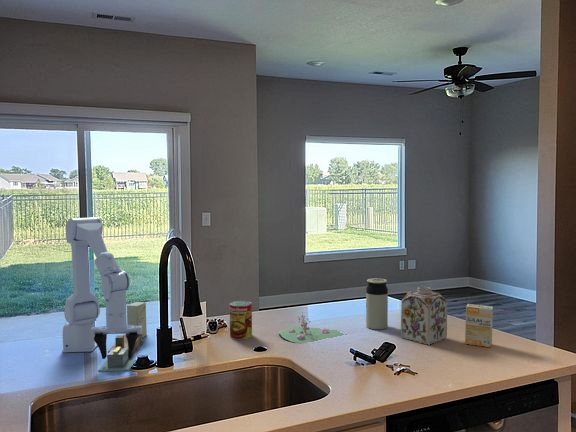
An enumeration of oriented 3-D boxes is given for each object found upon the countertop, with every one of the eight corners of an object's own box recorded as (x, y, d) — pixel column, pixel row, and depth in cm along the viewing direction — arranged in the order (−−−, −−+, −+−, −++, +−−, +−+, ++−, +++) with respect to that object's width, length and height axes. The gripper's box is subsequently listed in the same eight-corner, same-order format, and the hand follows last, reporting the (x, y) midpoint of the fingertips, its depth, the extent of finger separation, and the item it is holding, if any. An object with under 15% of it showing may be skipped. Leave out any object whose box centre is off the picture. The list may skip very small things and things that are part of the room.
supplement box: (464, 344, 165) (465, 306, 164) (466, 340, 170) (467, 303, 169) (491, 348, 161) (491, 308, 161) (492, 344, 166) (493, 305, 165)
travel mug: (390, 326, 188) (390, 279, 187) (382, 331, 181) (383, 282, 180) (371, 323, 192) (371, 277, 191) (362, 328, 185) (362, 280, 184)
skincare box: (138, 340, 172) (137, 306, 172) (126, 339, 173) (126, 305, 173) (147, 335, 179) (146, 301, 178) (135, 334, 180) (135, 301, 179)
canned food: (225, 338, 174) (225, 304, 174) (236, 332, 181) (236, 299, 181) (245, 340, 171) (245, 306, 171) (255, 334, 179) (255, 301, 178)
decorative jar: (428, 346, 164) (429, 292, 163) (399, 338, 173) (400, 287, 172) (448, 338, 172) (448, 287, 171) (419, 331, 181) (419, 282, 180)
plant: (338, 326, 190) (338, 303, 190) (355, 342, 170) (355, 316, 170) (274, 330, 186) (274, 306, 185) (284, 347, 166) (283, 320, 165)
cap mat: (98, 371, 143) (98, 370, 143) (106, 361, 151) (106, 360, 151) (129, 370, 144) (129, 369, 144) (136, 360, 152) (136, 359, 152)
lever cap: (107, 368, 145) (107, 352, 145) (113, 361, 151) (112, 345, 151) (123, 367, 145) (122, 351, 145) (128, 360, 151) (127, 345, 151)
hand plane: (130, 360, 153) (129, 337, 152) (107, 360, 152) (106, 338, 152) (143, 342, 170) (142, 322, 170) (122, 342, 170) (122, 322, 169)
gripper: (86, 316, 142) (88, 363, 143) (137, 315, 143) (138, 361, 144) (94, 310, 149) (96, 354, 150) (143, 309, 150) (144, 353, 151)
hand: (117, 357), depth 148 cm, fingers open, 7 cm apart
